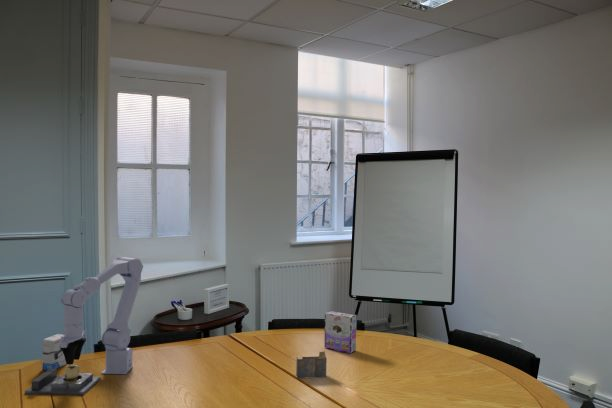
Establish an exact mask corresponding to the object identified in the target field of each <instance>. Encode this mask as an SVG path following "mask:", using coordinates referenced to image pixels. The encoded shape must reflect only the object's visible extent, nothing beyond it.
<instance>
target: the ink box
mask: <svg viewBox="0 0 612 408" xmlns="http://www.w3.org/2000/svg"><path fill="white" fill-rule="evenodd" d="M63 335H64V334H62V333H56V334H54V335H51V336H49V337H46V338H43V340H42V363H41V364H42V367H41V369H42V370H43V371H47V370H49V369H57V370H58V369H59V368H61V367H63V366H65V365H67V364H66V361H65V357H64V354H63V352H62V350H61V349H60V342H61V341H62V340H63V338H61V336H63Z"/></svg>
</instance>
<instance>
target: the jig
mask: <svg viewBox="0 0 612 408" xmlns="http://www.w3.org/2000/svg"><path fill="white" fill-rule="evenodd" d="M57 371H58V368H57V369H49V370H45V372H43V373H42V374H40V375H38V376H37V377H36V378H34V379H33V380H31V386H30V387H28V388H26V389H25V391H24V395H52V396H53V395H56V396H57V395H61V396H63V395H65V396H67V395H69V396H84V395H85V394H86V393H88V392H89V391H90V390H91V389H92V388H93V387H94V386H95V385H96V384H97V383H98V382H99V381H100V380H101V376H94V373H93V372H79V380H76V381H65V373H64V374H62V375H57Z"/></svg>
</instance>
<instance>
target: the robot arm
mask: <svg viewBox="0 0 612 408" xmlns="http://www.w3.org/2000/svg"><path fill="white" fill-rule="evenodd" d="M143 269H144V265H143V263H142V261H141V259H139V258H136V257H135V258H132V257H126V256H118V257H117V258H115V259H113V260H112V262H111V264H109V265H108V266H106V268H104V269H103V270H101V272H99V273H98V274H97V275H96V276H94V277H93V276H91V277H90V276H89V277H85V279H84V280H83V281H82V282H81V283H79V284H77V285H75V286H74V287H73V289H67V290H66V291H64V292H63V294H62V296H61V298H60V302H61V304H62V305H63V309H64V326H63V327H64V329H63V330H64V332H63V334H62V335H63V336H61V338H63V340H62V341H61V342H60V349H61V350H62V352H63V354H64V357H65V361H66V364H65V365H74V362H75V360H77V361H78V360H80V358H81V354H82V351H83V348H84V345H85V343H86V341H87V338H85V336H86V330H83V306H84V305H85V304H86V303H87V300H88V299H89V298H90V297H91V296H92V295H94V294H95V293H96V292H98V291H99V290H100V289H101V285H102V284H104V283H106V282H107V281H108V280H110V279H112V278H113V277H115V276H116V275H120V276H121V277H122V278H123V281H124V282H125V283H124V285H123V288H122V292H121V295H120V298H119V302H118V305H117V307H116V311H115V314H114V317H113V320H112V321H111V322H110V323H108V325H107V326H106V328H105V330H104V332H103V333H102V335H101V342H102V344H103V345H104V348H105V368H104V369H103V370H102V371H101V374H102V375H104V374H105V375H126V374H128V372H129V371H130V370H131V369H133V367H134V366H133V348H131V347H128V346H129V344H130V341H131V332H132V330H131V327H130V325H129V320H130V317H131V314H132V312H133V311H132V310H133V308H134V304H135V300H136V297H137V295H138V291H139V288H140V286H141V285H140V284H141V281H142V272H143Z"/></svg>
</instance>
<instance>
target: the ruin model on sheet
mask: <svg viewBox="0 0 612 408" xmlns="http://www.w3.org/2000/svg"><path fill="white" fill-rule="evenodd" d="M295 362H296V369H295V370H296V371H295V374H296V375H295V376H297V377H296V379H306V378H305V377H317V378H327V363H328V362H327V356H326V351H325V350H324V351H319V353H318V356H302V357H301V358H298V356H296V361H295Z"/></svg>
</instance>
